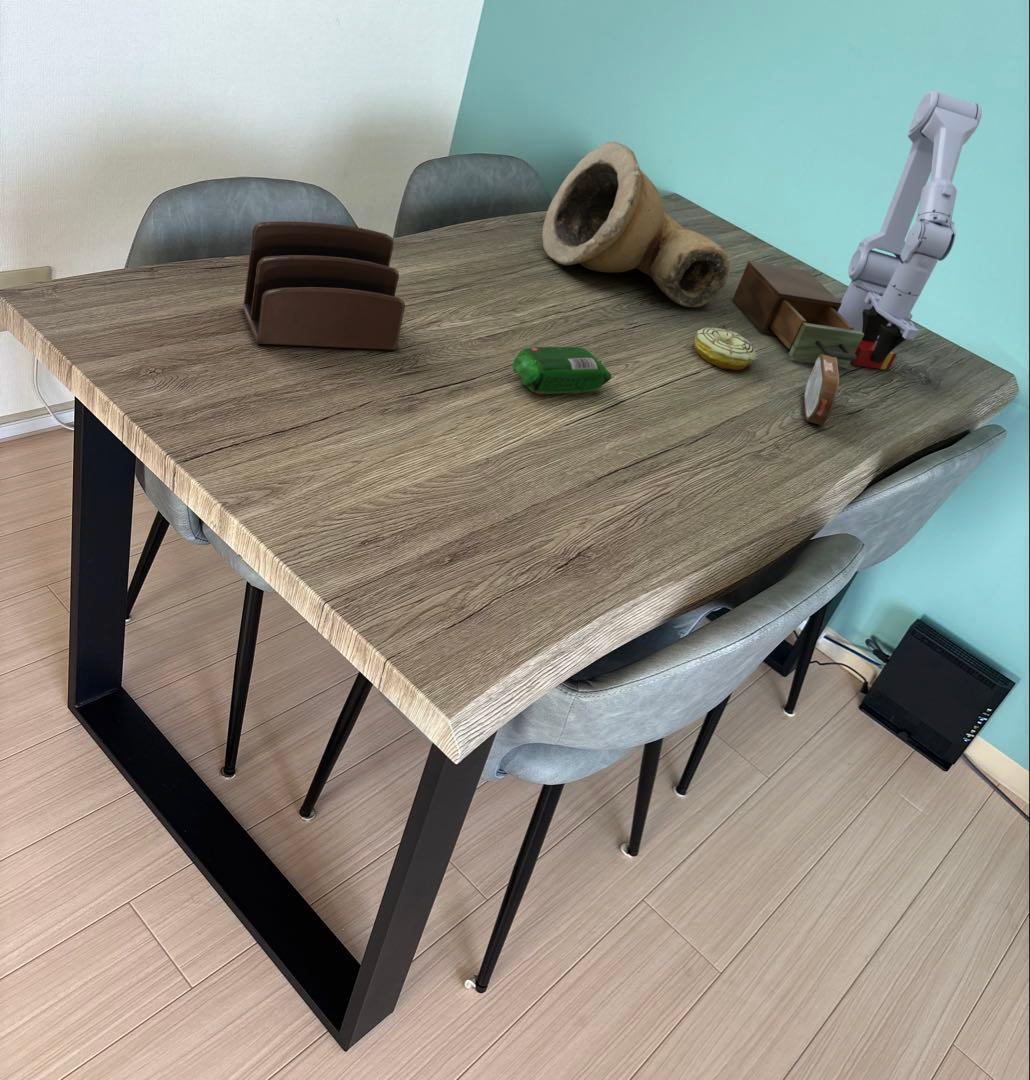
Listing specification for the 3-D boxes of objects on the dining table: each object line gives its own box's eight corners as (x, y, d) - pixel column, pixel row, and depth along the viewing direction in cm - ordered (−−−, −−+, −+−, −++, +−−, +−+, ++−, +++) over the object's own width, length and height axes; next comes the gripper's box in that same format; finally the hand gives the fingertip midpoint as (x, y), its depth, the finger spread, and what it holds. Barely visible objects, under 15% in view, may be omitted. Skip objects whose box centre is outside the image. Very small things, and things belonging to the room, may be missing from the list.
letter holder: (242, 309, 143) (252, 213, 135) (377, 318, 152) (395, 227, 144) (256, 345, 136) (268, 246, 128) (396, 352, 145) (416, 259, 137)
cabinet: (822, 342, 193) (841, 303, 188) (761, 333, 188) (779, 293, 183) (791, 308, 203) (808, 271, 198) (732, 299, 198) (748, 260, 193)
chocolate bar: (877, 359, 193) (886, 343, 191) (888, 370, 190) (897, 354, 188) (842, 354, 191) (851, 338, 189) (853, 365, 188) (862, 349, 186)
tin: (821, 435, 160) (845, 388, 155) (802, 428, 160) (825, 382, 156) (817, 394, 173) (839, 350, 168) (799, 388, 173) (820, 344, 168)
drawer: (861, 379, 181) (878, 347, 177) (803, 371, 177) (819, 339, 173) (816, 332, 194) (831, 301, 190) (761, 323, 189) (775, 292, 186)
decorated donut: (762, 369, 175) (771, 349, 173) (724, 377, 168) (733, 357, 166) (717, 339, 180) (725, 320, 178) (679, 346, 173) (687, 326, 171)
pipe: (697, 353, 195) (596, 303, 175) (615, 282, 213) (515, 229, 192) (773, 247, 187) (676, 181, 166) (681, 182, 205) (583, 116, 184)
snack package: (613, 397, 152) (624, 367, 149) (523, 399, 144) (533, 367, 141) (589, 373, 156) (600, 342, 153) (501, 373, 148) (510, 341, 145)
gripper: (945, 310, 178) (907, 377, 186) (901, 273, 188) (867, 338, 196) (912, 304, 175) (876, 373, 183) (870, 268, 186) (837, 334, 194)
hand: (869, 355), depth 190 cm, fingers closed on chocolate bar, 4 cm apart
